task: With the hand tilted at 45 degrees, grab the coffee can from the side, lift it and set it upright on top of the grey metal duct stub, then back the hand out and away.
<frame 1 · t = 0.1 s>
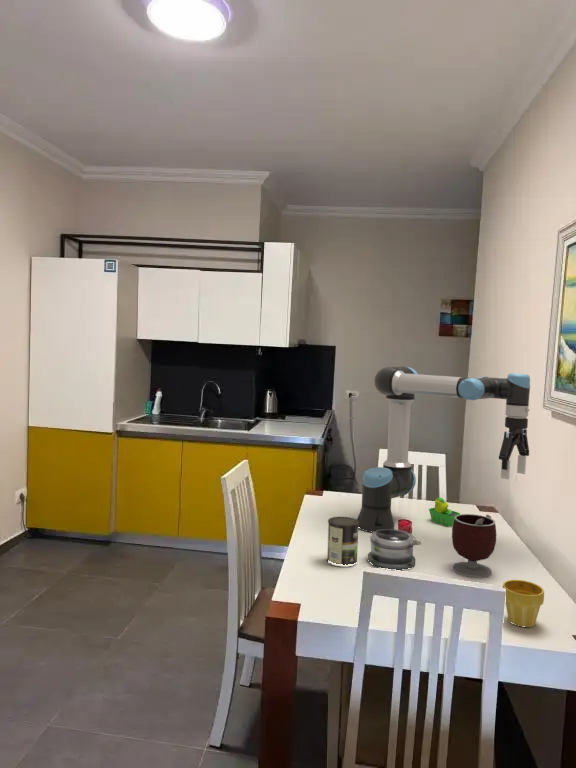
hand: (513, 476, 211), 28 cm above the table, tool pointing down, fingers open, 13 cm apart
food container: (480, 544, 221), on the table
fruit basket: (442, 523, 246), on the table
coffee can: (341, 562, 198), on the table
plant pot: (521, 623, 158), on the table
duct stub: (391, 561, 200), on the table
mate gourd: (472, 572, 193), on the table
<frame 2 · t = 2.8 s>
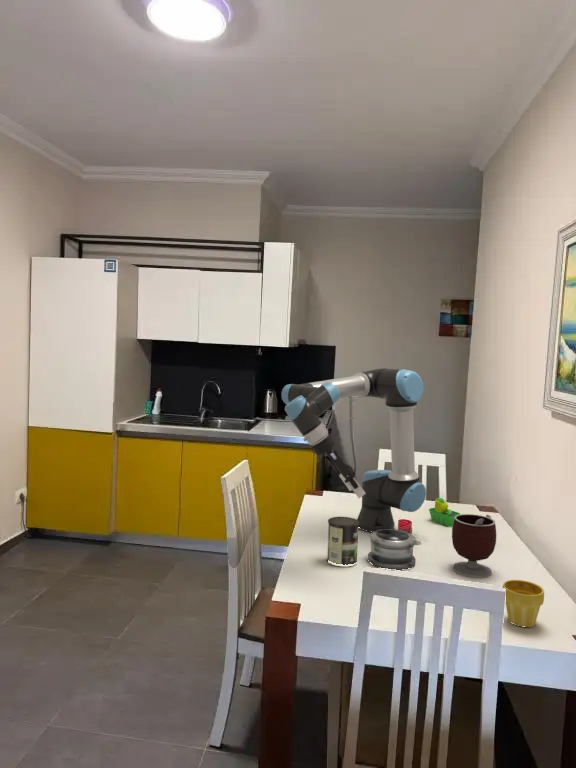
hand: (357, 492, 192), 25 cm above the table, tool tilted 40°, fingers open, 13 cm apart
nothing on the table moved.
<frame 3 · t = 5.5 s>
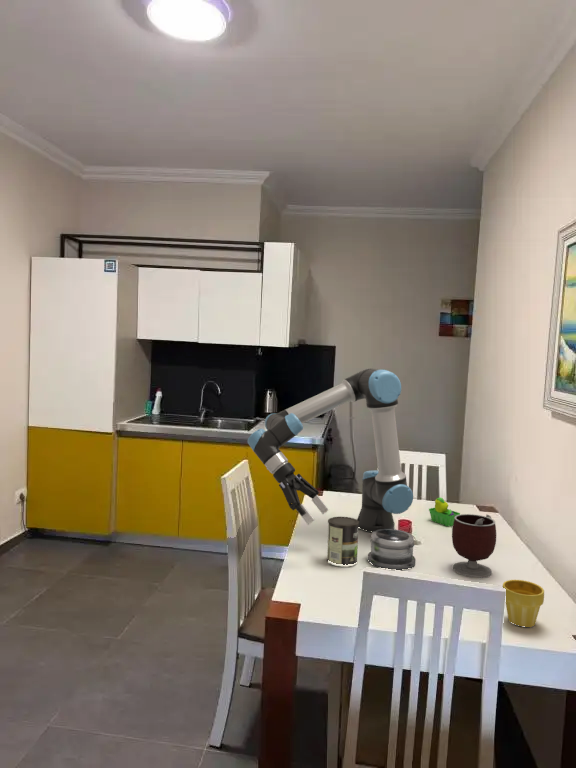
hand: (318, 517, 200), 14 cm above the table, tool tilted 45°, fingers open, 13 cm apart
nothing on the table moved.
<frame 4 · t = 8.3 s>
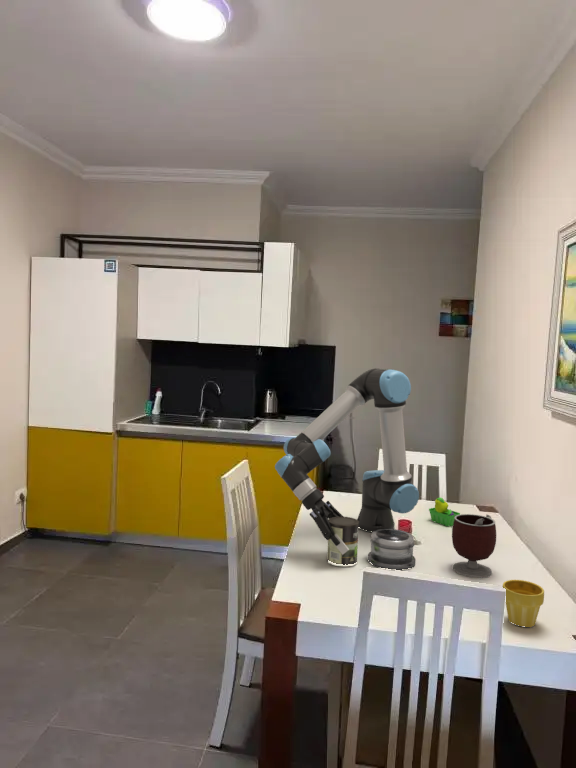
hand: (351, 547, 196), 6 cm above the table, tool tilted 45°, fingers closed on coffee can, 10 cm apart
coffee can: (341, 562, 198), on the table, touching gripper
everything else where it was.
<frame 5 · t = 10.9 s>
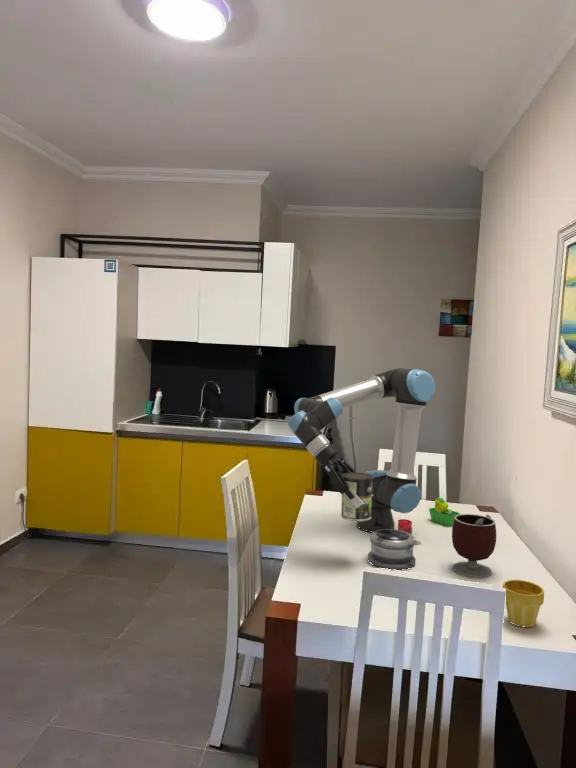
hand: (365, 502, 195), 21 cm above the table, tool tilted 45°, fingers closed on coffee can, 10 cm apart
coffee can: (355, 517, 197), point 15 cm above the table, touching gripper
everything else where it was.
when the fingers open (16 cm above the table, at t = 13.6 s): coffee can drops 2 cm, resting on duct stub.
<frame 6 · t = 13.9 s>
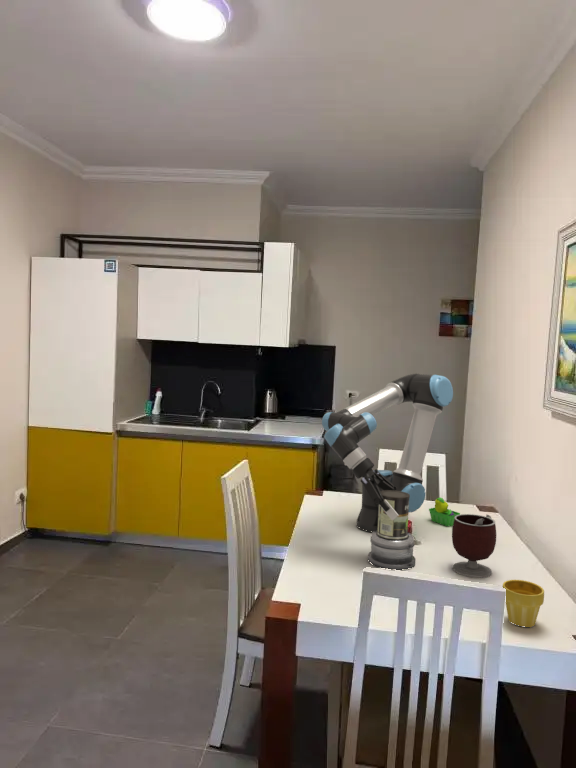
hand: (400, 512, 198), 17 cm above the table, tool tilted 45°, fingers open, 13 cm apart
coffee can: (392, 535, 199), point 9 cm above the table, touching duct stub
everything else where it was.
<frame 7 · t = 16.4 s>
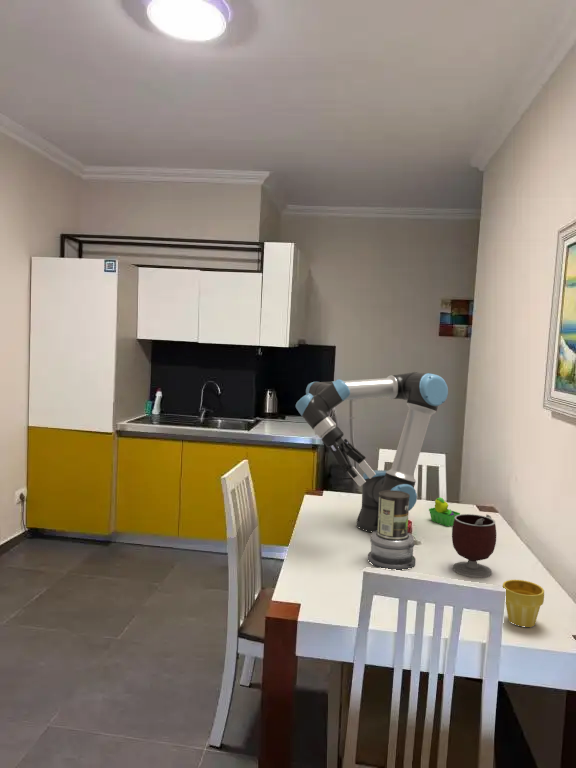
hand: (368, 480, 202), 27 cm above the table, tool tilted 45°, fingers open, 13 cm apart
nothing on the table moved.
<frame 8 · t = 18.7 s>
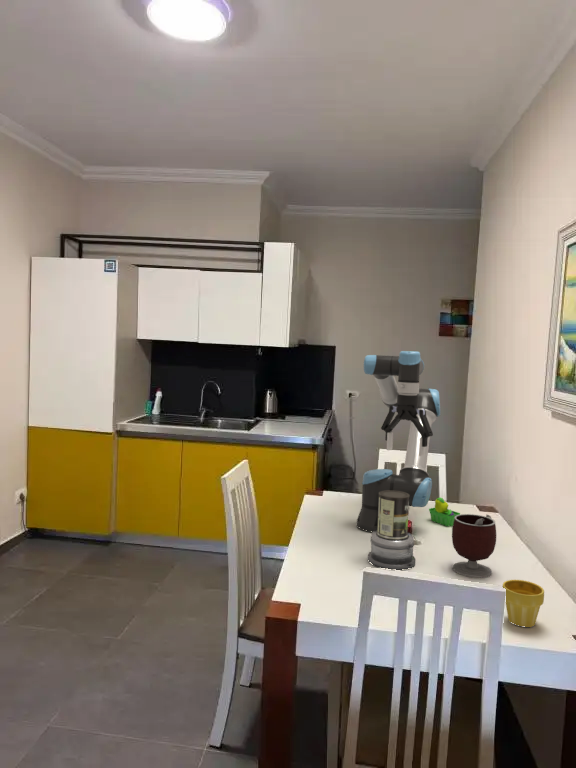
hand: (405, 452, 212), 35 cm above the table, tool pointing down, fingers open, 13 cm apart
nothing on the table moved.
at the end: coffee can inside the target area on the duct stub (0.2 cm from its centre), point 9.0 cm above the duct stub's base; coffee can tilted 0°; the gripper is holding nothing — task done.
